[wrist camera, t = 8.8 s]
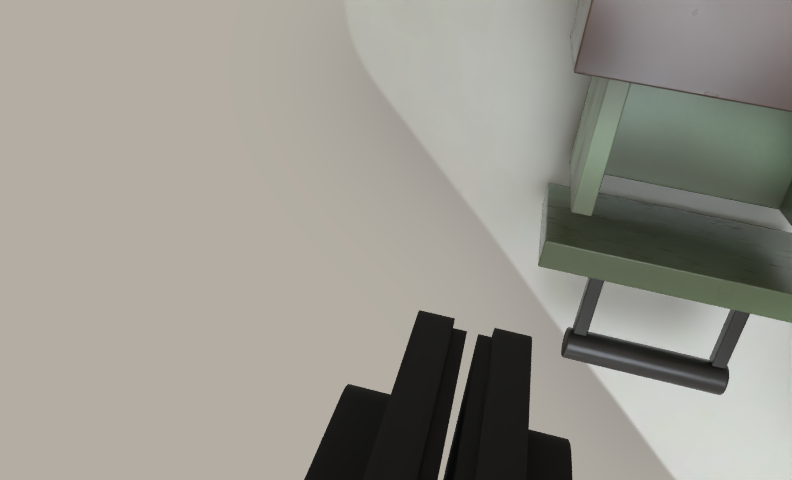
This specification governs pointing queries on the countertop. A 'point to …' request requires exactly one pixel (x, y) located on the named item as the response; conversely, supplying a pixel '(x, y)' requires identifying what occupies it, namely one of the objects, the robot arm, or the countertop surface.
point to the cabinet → (690, 47)
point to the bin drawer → (672, 220)
